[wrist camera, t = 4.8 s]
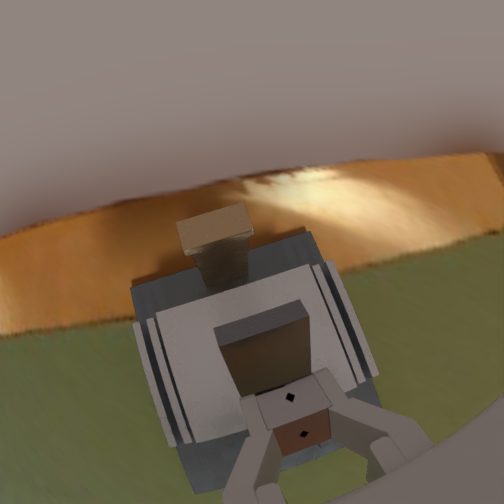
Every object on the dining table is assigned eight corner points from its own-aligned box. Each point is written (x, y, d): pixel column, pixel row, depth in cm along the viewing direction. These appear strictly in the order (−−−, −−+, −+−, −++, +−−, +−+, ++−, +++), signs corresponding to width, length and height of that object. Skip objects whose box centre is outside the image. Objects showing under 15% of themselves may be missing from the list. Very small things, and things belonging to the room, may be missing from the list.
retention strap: (308, 432, 20) (314, 445, 19) (265, 447, 19) (270, 461, 18) (300, 293, 11) (314, 318, 10) (208, 324, 10) (216, 352, 9)
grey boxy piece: (196, 490, 22) (173, 535, 13) (133, 290, 30) (89, 251, 21) (383, 424, 25) (438, 437, 16) (308, 235, 32) (329, 178, 23)
